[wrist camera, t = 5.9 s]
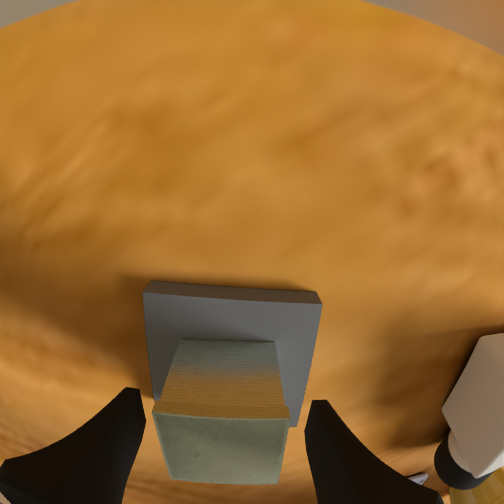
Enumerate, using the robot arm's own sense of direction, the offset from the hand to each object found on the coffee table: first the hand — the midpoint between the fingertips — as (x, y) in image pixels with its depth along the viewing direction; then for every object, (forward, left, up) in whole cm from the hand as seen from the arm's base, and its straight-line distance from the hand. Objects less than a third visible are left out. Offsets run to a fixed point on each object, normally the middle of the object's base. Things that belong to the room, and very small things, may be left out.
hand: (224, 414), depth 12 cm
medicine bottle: (+1, -19, 0) cm, 19 cm away
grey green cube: (0, 0, -3) cm, 3 cm away
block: (0, 0, -5) cm, 5 cm away
